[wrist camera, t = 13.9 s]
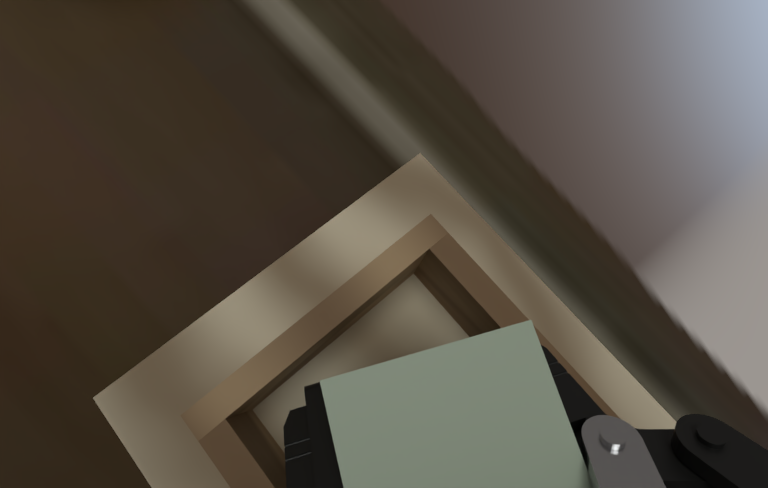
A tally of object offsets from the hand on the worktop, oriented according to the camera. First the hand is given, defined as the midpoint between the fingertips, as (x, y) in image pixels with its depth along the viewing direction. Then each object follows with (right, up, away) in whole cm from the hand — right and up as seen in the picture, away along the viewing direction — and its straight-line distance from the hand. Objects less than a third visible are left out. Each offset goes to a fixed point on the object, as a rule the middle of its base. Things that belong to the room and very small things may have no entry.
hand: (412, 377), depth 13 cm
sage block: (0, -3, +3) cm, 5 cm away
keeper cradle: (0, -4, +6) cm, 7 cm away
